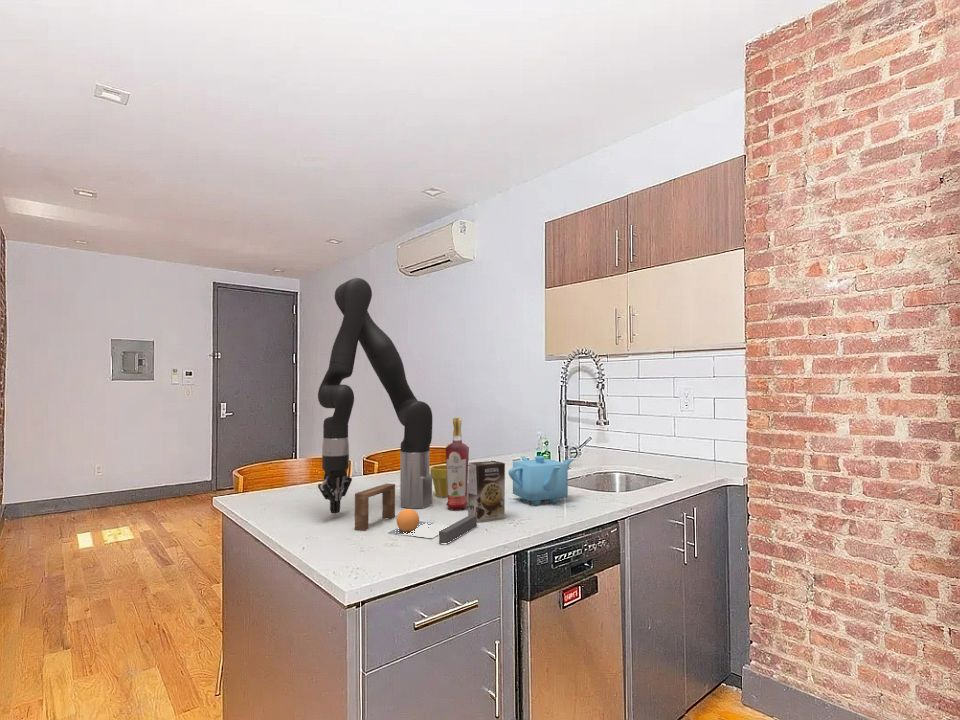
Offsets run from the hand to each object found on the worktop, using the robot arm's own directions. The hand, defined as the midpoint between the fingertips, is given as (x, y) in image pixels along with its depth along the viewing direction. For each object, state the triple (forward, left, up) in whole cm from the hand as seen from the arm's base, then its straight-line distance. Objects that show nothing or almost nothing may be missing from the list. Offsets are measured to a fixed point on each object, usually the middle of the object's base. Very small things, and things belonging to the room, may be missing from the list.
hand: (335, 512), depth 162 cm
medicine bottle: (-28, -35, -2) cm, 45 cm away
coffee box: (-40, -18, -2) cm, 44 cm away
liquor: (-27, -25, -2) cm, 37 cm away
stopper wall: (-40, 0, -2) cm, 40 cm away
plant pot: (-15, -40, -2) cm, 43 cm away
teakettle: (-48, -46, -2) cm, 67 cm away
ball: (-26, +3, +2) cm, 27 cm away
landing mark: (-29, 0, -2) cm, 29 cm away
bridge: (-14, 0, -2) cm, 14 cm away
